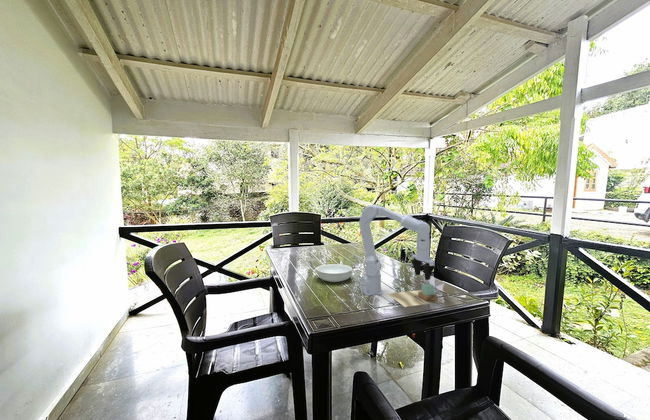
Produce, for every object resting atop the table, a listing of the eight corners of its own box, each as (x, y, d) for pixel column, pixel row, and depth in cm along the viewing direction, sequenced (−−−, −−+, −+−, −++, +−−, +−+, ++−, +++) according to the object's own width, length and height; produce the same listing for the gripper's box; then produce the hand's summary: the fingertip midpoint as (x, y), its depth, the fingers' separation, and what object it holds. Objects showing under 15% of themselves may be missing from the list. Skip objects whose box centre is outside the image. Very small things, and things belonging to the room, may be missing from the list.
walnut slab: (426, 301, 123) (426, 296, 123) (418, 297, 129) (418, 291, 129) (437, 300, 125) (437, 295, 125) (429, 295, 130) (429, 290, 130)
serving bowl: (357, 277, 162) (357, 265, 162) (343, 288, 144) (343, 275, 143) (326, 272, 172) (326, 262, 172) (309, 282, 154) (309, 270, 153)
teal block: (426, 295, 124) (426, 286, 124) (421, 292, 128) (421, 284, 128) (434, 294, 125) (434, 286, 125) (428, 291, 129) (429, 283, 129)
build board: (404, 308, 118) (404, 306, 118) (387, 294, 134) (387, 293, 134) (444, 302, 123) (444, 301, 123) (422, 290, 139) (422, 289, 139)
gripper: (440, 251, 121) (440, 281, 122) (421, 245, 135) (420, 272, 136) (426, 252, 119) (426, 282, 120) (408, 245, 133) (408, 273, 134)
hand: (422, 277), depth 128 cm, fingers open, 7 cm apart
